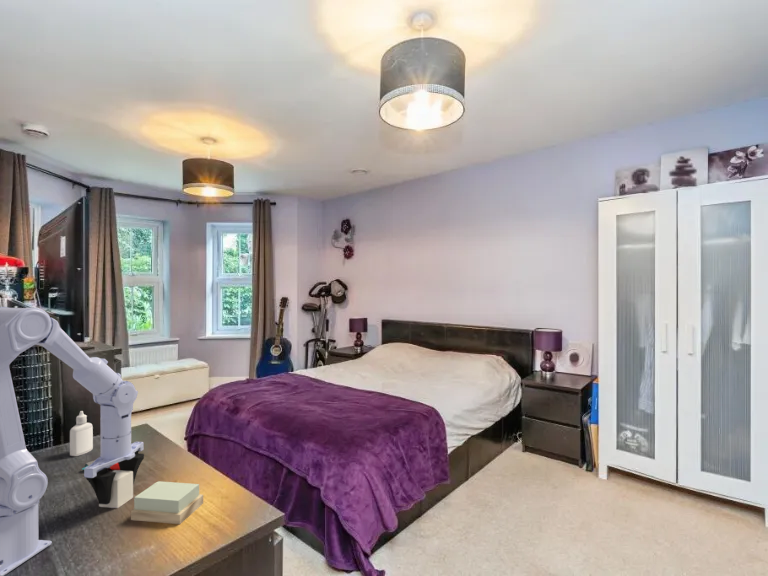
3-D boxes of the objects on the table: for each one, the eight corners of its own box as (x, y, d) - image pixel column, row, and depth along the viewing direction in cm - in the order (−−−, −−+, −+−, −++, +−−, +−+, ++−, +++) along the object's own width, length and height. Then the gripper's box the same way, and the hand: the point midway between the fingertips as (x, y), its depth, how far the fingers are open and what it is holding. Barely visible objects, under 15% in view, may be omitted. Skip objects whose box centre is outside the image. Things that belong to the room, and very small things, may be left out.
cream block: (117, 508, 88) (117, 480, 88) (98, 506, 88) (98, 479, 88) (133, 497, 92) (132, 471, 92) (115, 496, 93) (115, 470, 93)
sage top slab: (178, 513, 82) (178, 500, 82) (134, 509, 84) (134, 497, 84) (199, 495, 89) (199, 484, 89) (157, 492, 91) (157, 481, 91)
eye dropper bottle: (95, 451, 118) (95, 410, 118) (71, 458, 114) (71, 415, 114) (91, 448, 121) (91, 407, 121) (67, 453, 117) (67, 412, 117)
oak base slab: (180, 527, 82) (180, 514, 82) (130, 523, 83) (130, 510, 83) (203, 505, 90) (203, 494, 90) (157, 502, 91) (157, 491, 91)
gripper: (105, 447, 83) (106, 514, 83) (155, 424, 97) (155, 480, 97) (75, 446, 83) (75, 512, 84) (128, 422, 98) (128, 479, 98)
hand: (116, 495), depth 90 cm, fingers open, 6 cm apart
